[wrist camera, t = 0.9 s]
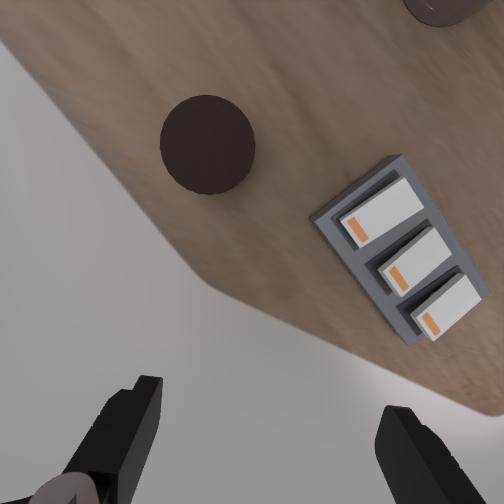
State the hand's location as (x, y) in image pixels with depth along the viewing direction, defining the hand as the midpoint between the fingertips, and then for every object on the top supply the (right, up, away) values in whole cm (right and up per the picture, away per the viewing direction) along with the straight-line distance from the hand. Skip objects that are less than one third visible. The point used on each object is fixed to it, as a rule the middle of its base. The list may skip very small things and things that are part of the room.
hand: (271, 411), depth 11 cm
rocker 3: (+20, 0, +23) cm, 30 cm away
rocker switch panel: (+16, +6, +26) cm, 31 cm away
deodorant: (-4, +16, +23) cm, 28 cm away
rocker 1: (+12, +10, +20) cm, 25 cm away
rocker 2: (+16, +5, +21) cm, 27 cm away
